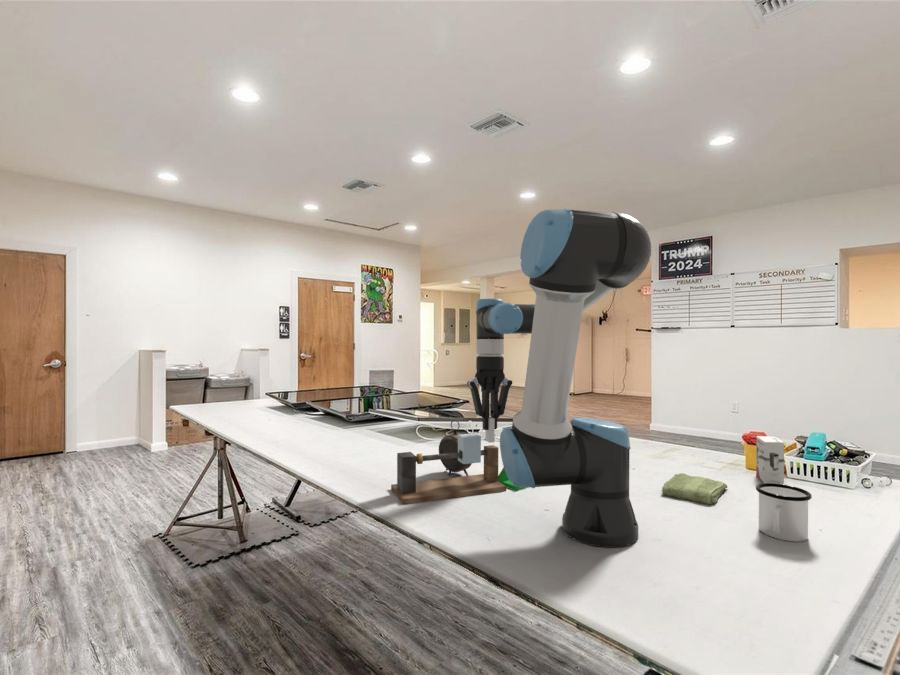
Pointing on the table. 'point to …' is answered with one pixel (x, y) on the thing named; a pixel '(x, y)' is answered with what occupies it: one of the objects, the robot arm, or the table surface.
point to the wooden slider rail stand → (445, 487)
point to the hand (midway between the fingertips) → (489, 441)
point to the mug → (783, 511)
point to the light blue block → (469, 448)
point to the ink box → (770, 459)
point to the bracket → (507, 481)
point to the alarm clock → (451, 446)
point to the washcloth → (694, 488)
